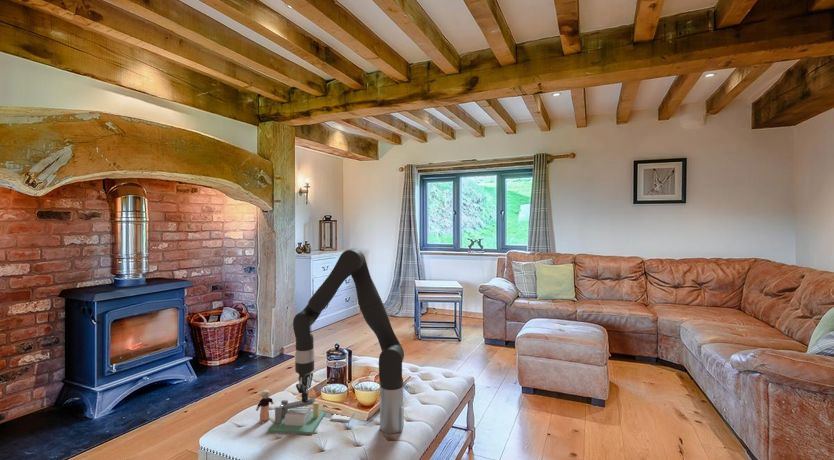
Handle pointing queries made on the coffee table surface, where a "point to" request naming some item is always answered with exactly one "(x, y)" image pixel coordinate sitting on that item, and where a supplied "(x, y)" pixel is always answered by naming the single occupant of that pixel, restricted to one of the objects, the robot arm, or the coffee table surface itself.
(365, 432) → the coffee table surface
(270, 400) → the grandmother figurine
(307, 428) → the board
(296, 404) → the gray bar
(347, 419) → the external hard drive
